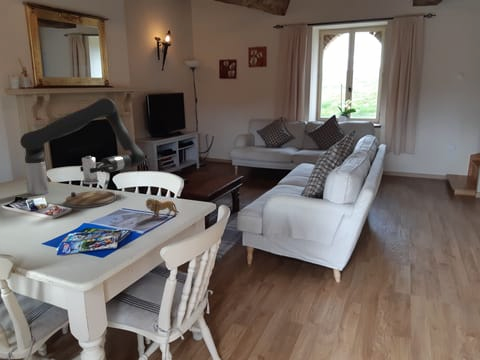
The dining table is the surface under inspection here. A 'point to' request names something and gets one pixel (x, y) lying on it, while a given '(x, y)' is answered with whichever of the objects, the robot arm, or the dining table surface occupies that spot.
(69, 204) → the turntable base
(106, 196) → the turntable
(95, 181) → the canister
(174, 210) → the lion figurine
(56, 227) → the dining table surface
